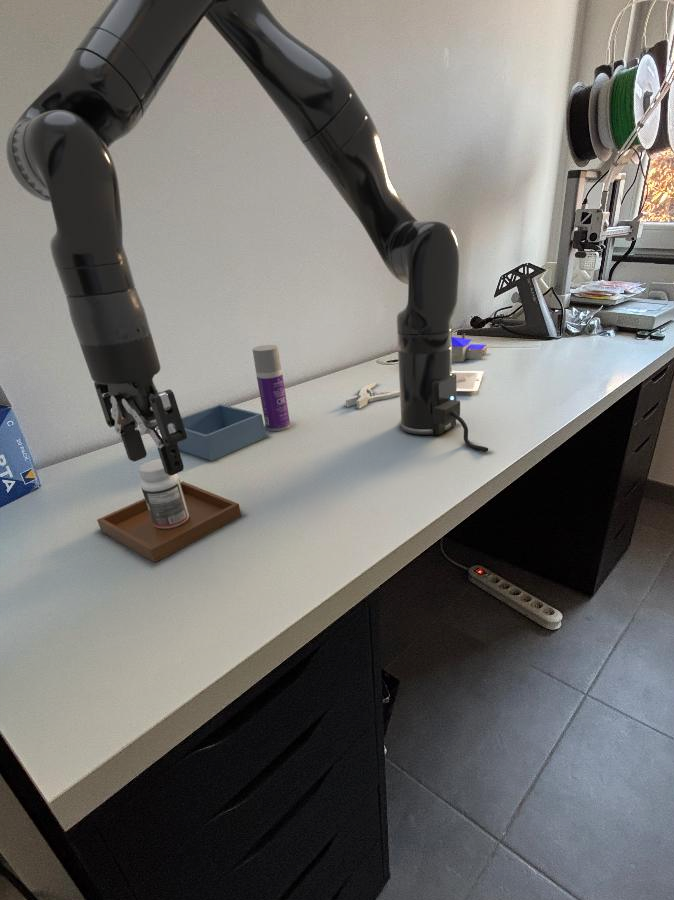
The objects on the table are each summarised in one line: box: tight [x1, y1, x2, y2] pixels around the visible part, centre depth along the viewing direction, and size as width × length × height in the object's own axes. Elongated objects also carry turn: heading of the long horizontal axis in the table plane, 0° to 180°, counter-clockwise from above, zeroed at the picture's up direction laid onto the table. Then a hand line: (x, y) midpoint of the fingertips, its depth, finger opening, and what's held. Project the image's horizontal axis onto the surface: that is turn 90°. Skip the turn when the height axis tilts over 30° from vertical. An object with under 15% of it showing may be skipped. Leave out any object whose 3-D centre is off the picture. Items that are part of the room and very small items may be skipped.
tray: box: [96, 480, 242, 563], centre depth 71 cm, size 13×13×2 cm
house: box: [452, 333, 488, 363], centre depth 137 cm, size 11×14×6 cm
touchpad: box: [452, 370, 484, 392], centre depth 118 cm, size 8×15×2 cm, turn 166°
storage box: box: [171, 403, 267, 462], centre depth 96 cm, size 12×12×4 cm
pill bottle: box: [138, 458, 189, 529], centre depth 70 cm, size 5×5×8 cm
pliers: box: [345, 381, 400, 409], centre depth 114 cm, size 10×2×15 cm
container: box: [252, 344, 291, 432], centre depth 98 cm, size 5×5×15 cm
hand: (156, 465), depth 68 cm, fingers open, 8 cm apart
